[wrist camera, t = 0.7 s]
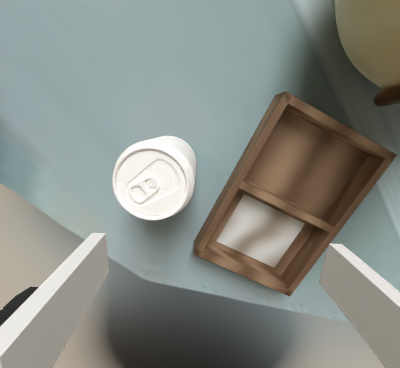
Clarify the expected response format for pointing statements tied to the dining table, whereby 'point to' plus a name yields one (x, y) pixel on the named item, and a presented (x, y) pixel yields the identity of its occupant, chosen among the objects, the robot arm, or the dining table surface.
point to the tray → (289, 194)
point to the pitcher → (373, 42)
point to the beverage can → (155, 177)
